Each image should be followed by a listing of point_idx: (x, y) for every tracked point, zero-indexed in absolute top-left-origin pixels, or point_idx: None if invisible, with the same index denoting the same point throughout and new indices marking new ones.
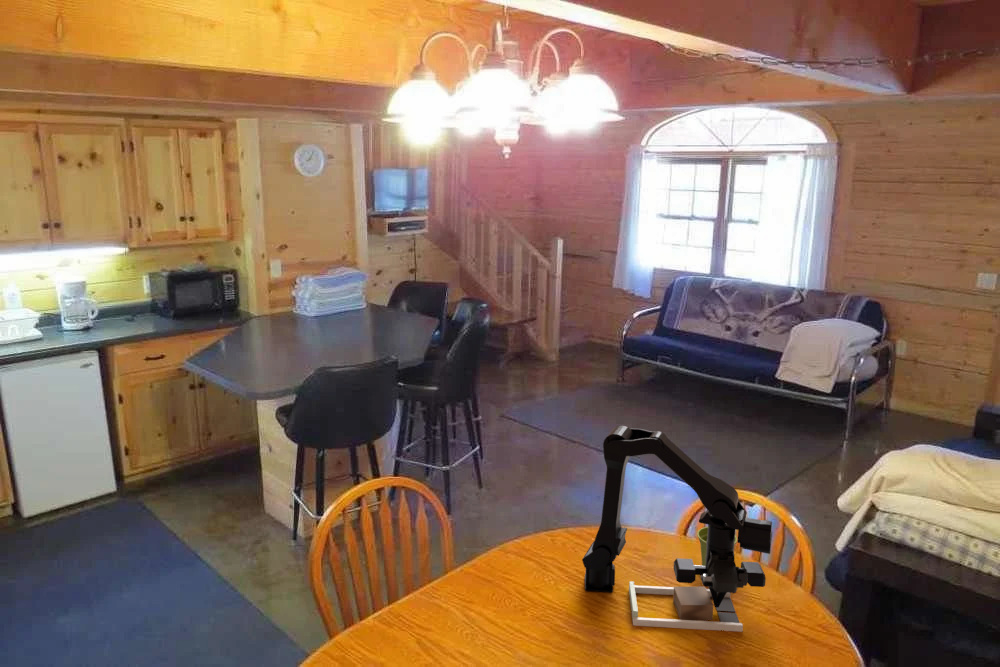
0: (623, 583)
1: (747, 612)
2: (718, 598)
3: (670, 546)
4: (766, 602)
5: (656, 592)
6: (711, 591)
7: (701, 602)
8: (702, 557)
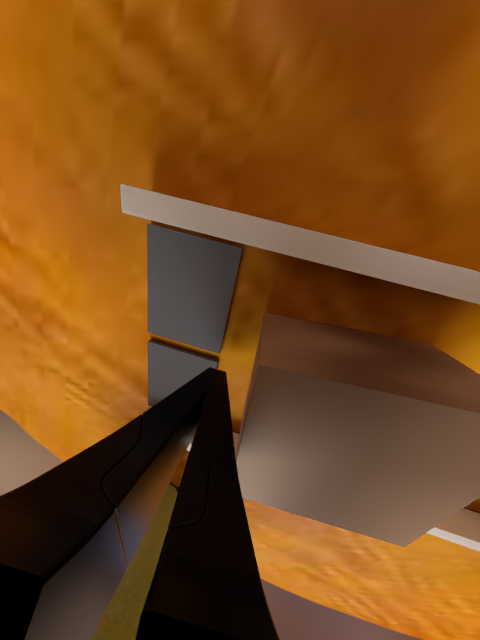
0: None
1: (108, 329)
2: (191, 410)
3: None
4: (47, 360)
5: None
6: (235, 510)
7: (339, 411)
8: None
